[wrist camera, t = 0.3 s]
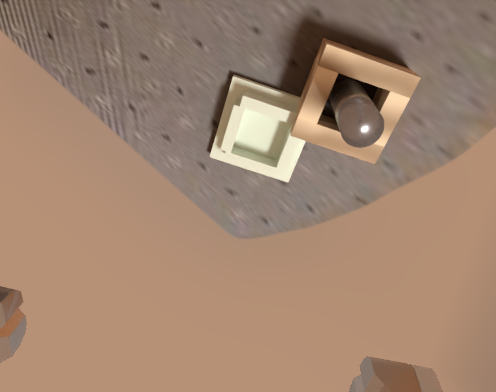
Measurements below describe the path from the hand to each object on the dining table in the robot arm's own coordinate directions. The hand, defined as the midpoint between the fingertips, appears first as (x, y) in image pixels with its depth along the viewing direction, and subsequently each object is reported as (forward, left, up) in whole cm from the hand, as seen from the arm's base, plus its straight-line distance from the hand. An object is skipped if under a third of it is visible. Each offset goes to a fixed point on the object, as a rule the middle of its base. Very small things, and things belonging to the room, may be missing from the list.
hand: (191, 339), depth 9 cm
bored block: (+3, +12, -46) cm, 47 cm away
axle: (+3, +12, -46) cm, 47 cm away
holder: (+11, +3, -46) cm, 47 cm away
